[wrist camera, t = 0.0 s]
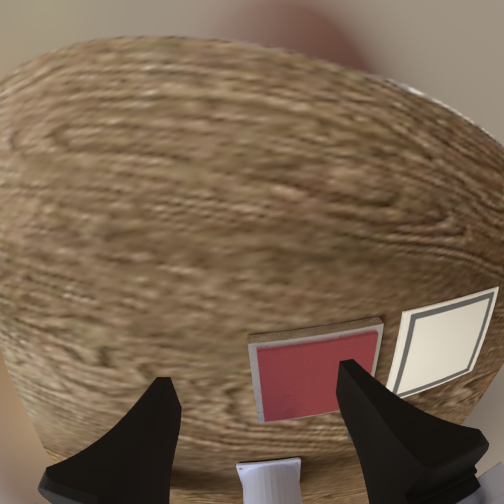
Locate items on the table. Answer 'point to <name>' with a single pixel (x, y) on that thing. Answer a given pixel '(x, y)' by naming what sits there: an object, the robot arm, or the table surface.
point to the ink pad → (308, 366)
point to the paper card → (439, 342)
